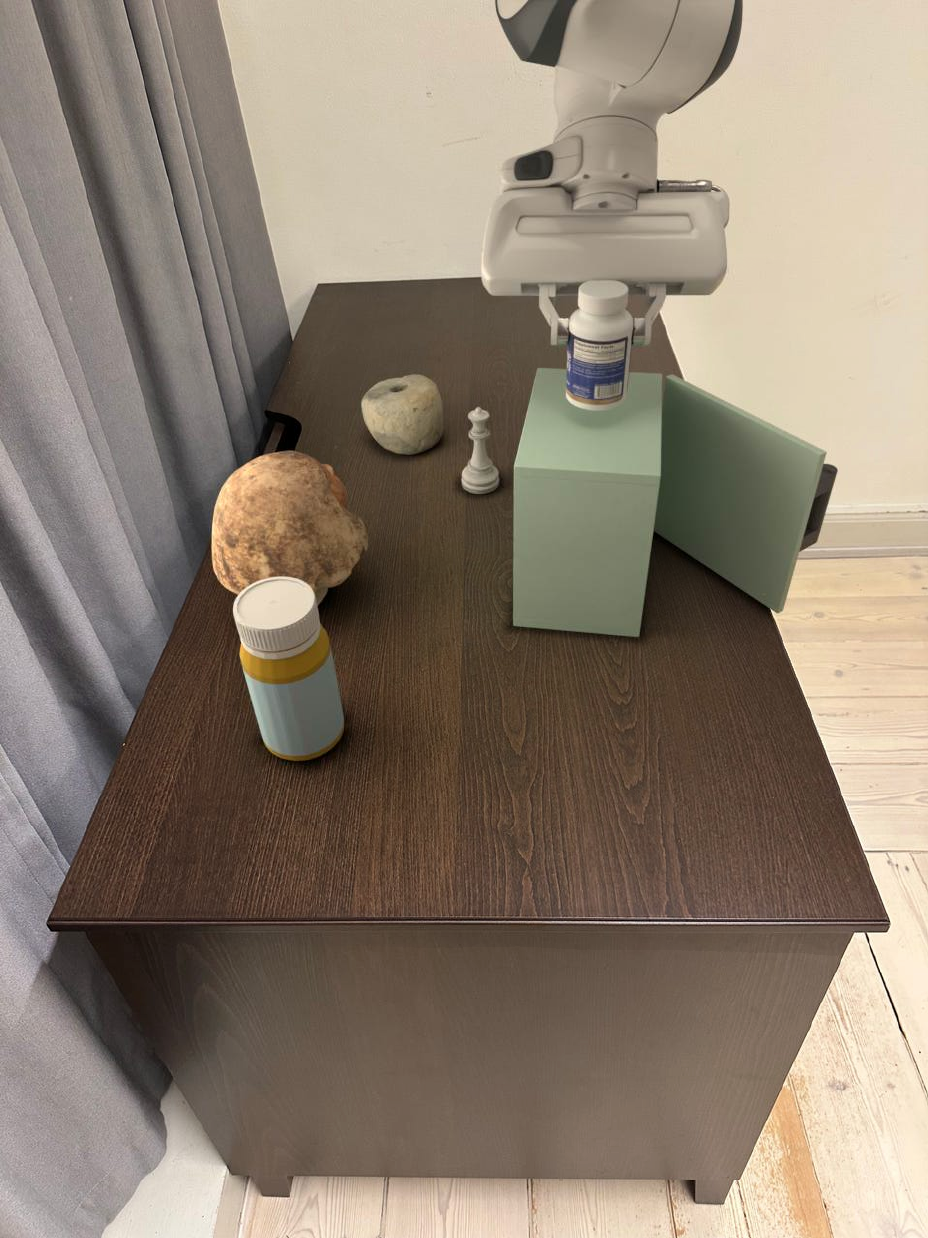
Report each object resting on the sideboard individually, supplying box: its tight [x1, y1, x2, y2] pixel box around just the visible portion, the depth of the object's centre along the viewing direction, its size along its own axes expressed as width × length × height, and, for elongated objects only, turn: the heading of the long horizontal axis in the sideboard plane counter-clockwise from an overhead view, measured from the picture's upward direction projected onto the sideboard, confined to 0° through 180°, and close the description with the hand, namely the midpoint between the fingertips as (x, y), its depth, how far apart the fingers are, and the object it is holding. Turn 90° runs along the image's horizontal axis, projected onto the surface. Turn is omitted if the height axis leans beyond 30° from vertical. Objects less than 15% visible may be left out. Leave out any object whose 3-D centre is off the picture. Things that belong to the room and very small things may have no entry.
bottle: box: [232, 577, 345, 762], centre depth 71 cm, size 7×7×15 cm
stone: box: [360, 373, 444, 456], centre depth 110 cm, size 10×10×10 cm
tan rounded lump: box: [211, 450, 369, 607], centre depth 85 cm, size 15×16×15 cm
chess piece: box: [461, 406, 500, 495], centre depth 101 cm, size 4×4×10 cm
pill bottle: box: [566, 280, 634, 411], centre depth 75 cm, size 5×5×10 cm
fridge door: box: [653, 373, 839, 614], centre depth 86 cm, size 7×18×18 cm, turn 35°
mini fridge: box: [512, 367, 663, 638], centre depth 85 cm, size 12×18×18 cm, turn 170°
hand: (599, 343), depth 74 cm, fingers closed on pill bottle, 5 cm apart
